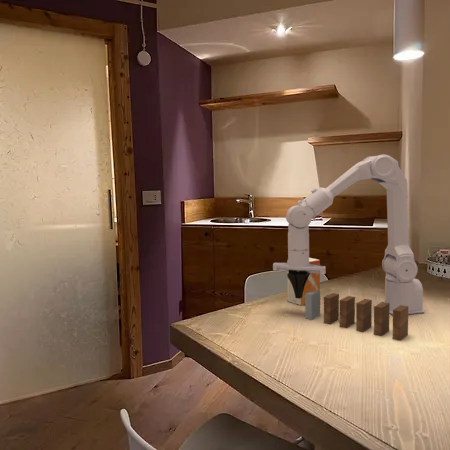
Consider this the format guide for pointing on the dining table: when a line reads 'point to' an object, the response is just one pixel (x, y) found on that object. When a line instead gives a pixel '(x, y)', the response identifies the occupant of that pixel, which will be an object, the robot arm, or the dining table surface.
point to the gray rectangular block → (312, 305)
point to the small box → (310, 285)
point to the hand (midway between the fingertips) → (298, 297)
